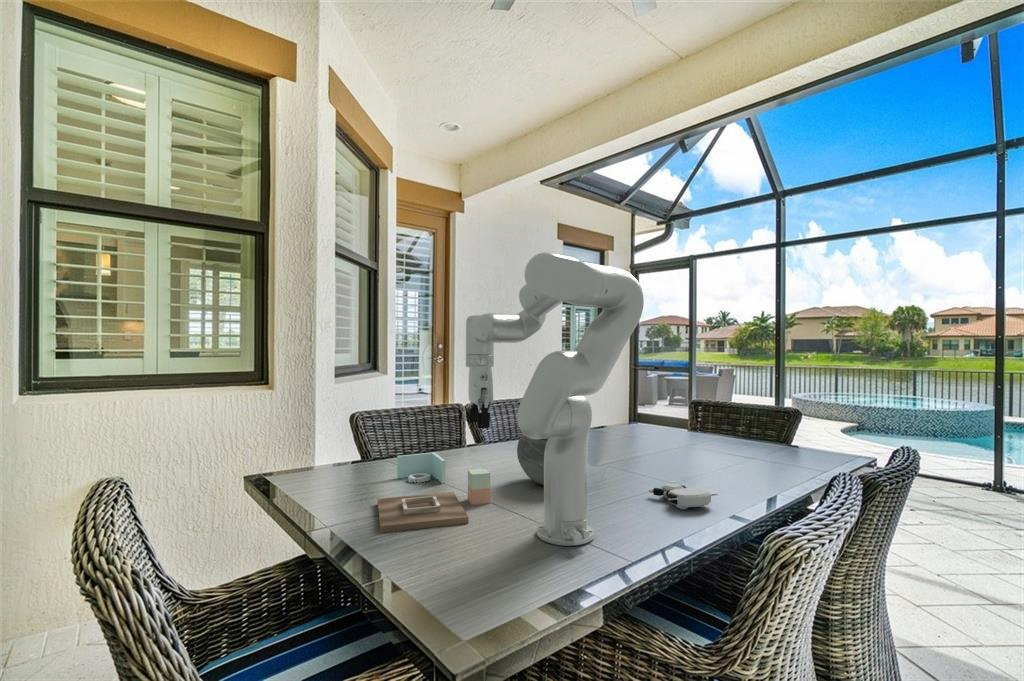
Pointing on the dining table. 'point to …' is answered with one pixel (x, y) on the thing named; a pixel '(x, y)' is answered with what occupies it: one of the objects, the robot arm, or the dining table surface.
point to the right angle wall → (421, 467)
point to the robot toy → (683, 495)
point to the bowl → (532, 457)
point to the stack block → (478, 486)
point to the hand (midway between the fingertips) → (479, 425)
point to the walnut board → (420, 512)
